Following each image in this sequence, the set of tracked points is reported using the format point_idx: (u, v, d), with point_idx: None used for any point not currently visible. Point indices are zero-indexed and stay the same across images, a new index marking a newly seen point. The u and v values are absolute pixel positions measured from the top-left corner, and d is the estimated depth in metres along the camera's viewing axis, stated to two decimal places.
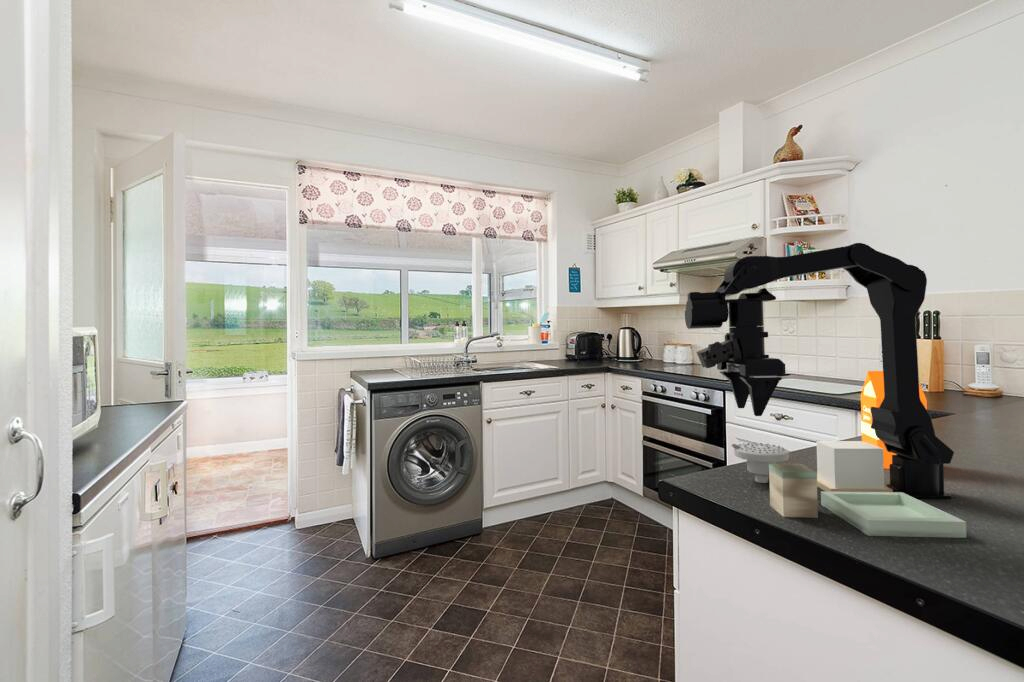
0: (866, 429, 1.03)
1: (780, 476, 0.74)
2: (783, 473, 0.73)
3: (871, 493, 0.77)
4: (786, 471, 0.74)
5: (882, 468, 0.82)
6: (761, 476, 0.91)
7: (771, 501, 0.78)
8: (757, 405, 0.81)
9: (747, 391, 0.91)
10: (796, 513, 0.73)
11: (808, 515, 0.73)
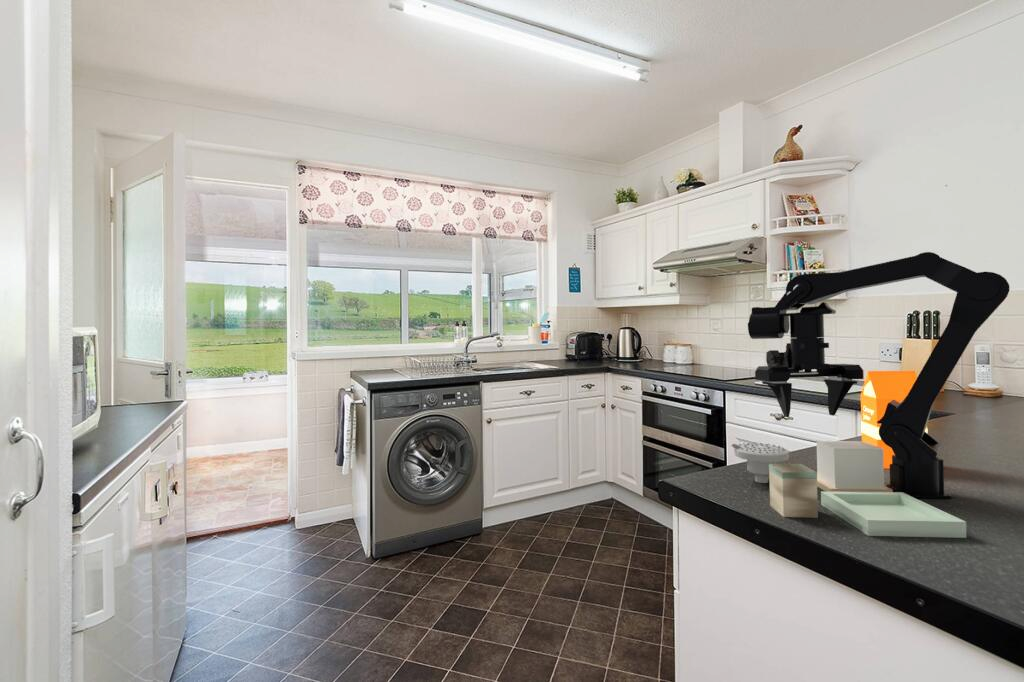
0: (866, 429, 1.03)
1: (780, 476, 0.74)
2: (783, 473, 0.73)
3: (871, 493, 0.77)
4: (786, 471, 0.74)
5: (882, 468, 0.82)
6: (761, 476, 0.91)
7: (771, 501, 0.78)
8: (782, 406, 0.94)
9: (836, 399, 0.93)
10: (796, 513, 0.73)
11: (808, 515, 0.73)
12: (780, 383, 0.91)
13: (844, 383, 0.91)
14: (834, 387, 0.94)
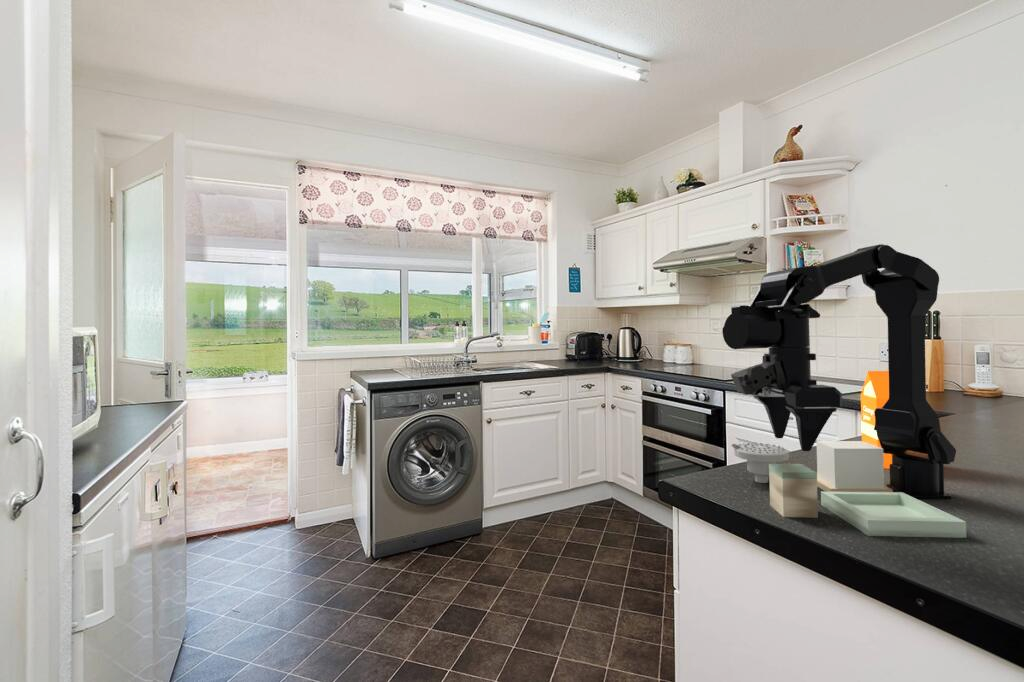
0: (866, 429, 1.03)
1: (780, 476, 0.74)
2: (783, 473, 0.73)
3: (871, 493, 0.77)
4: (786, 471, 0.74)
5: (882, 468, 0.82)
6: (761, 476, 0.91)
7: (771, 501, 0.78)
8: (805, 439, 0.71)
9: (786, 419, 0.80)
10: (796, 513, 0.73)
11: (808, 515, 0.73)
12: (832, 407, 0.68)
13: None
14: (780, 405, 0.81)
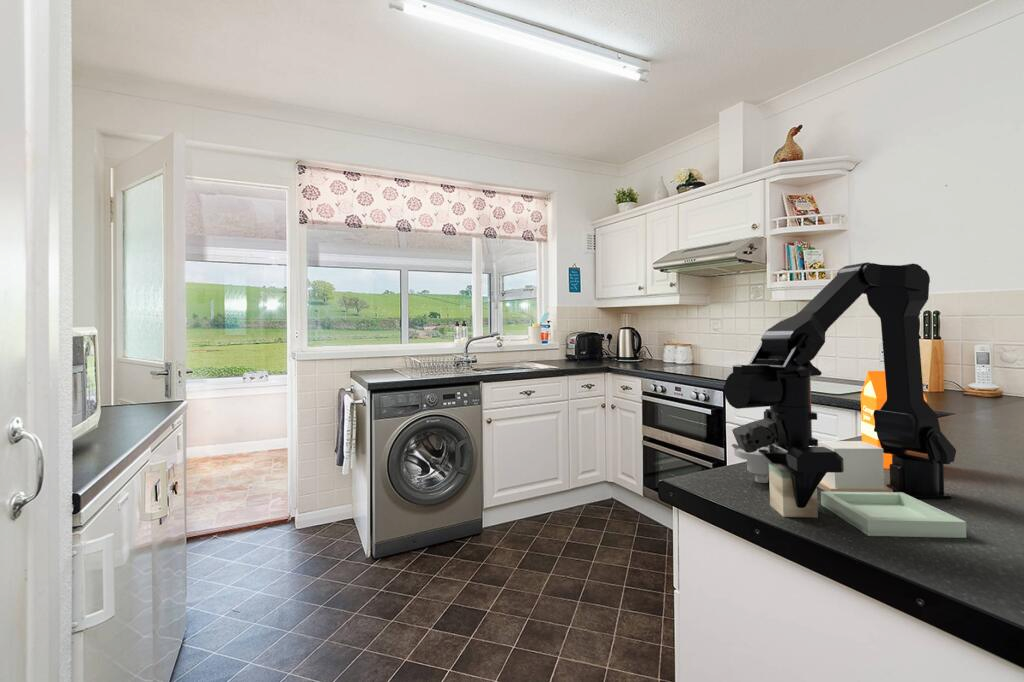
0: (866, 429, 1.03)
1: (780, 476, 0.74)
2: (783, 473, 0.73)
3: (871, 493, 0.77)
4: (786, 471, 0.74)
5: (882, 468, 0.82)
6: (761, 476, 0.91)
7: (771, 501, 0.78)
8: (800, 496, 0.72)
9: None
10: (796, 513, 0.73)
11: (808, 515, 0.73)
12: None
13: None
14: (786, 462, 0.79)
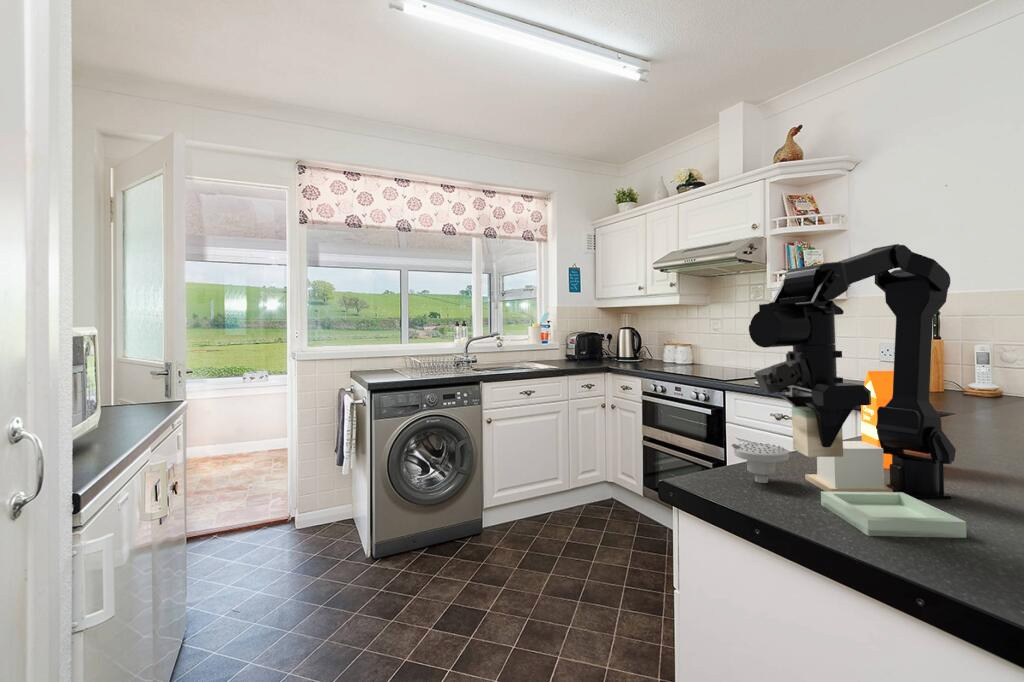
0: (866, 429, 1.03)
1: (804, 416, 0.73)
2: (807, 412, 0.72)
3: (871, 493, 0.77)
4: (810, 410, 0.73)
5: (882, 468, 0.82)
6: (761, 476, 0.91)
7: (794, 444, 0.77)
8: (826, 435, 0.71)
9: None
10: (821, 452, 0.72)
11: (833, 454, 0.72)
12: None
13: None
14: None
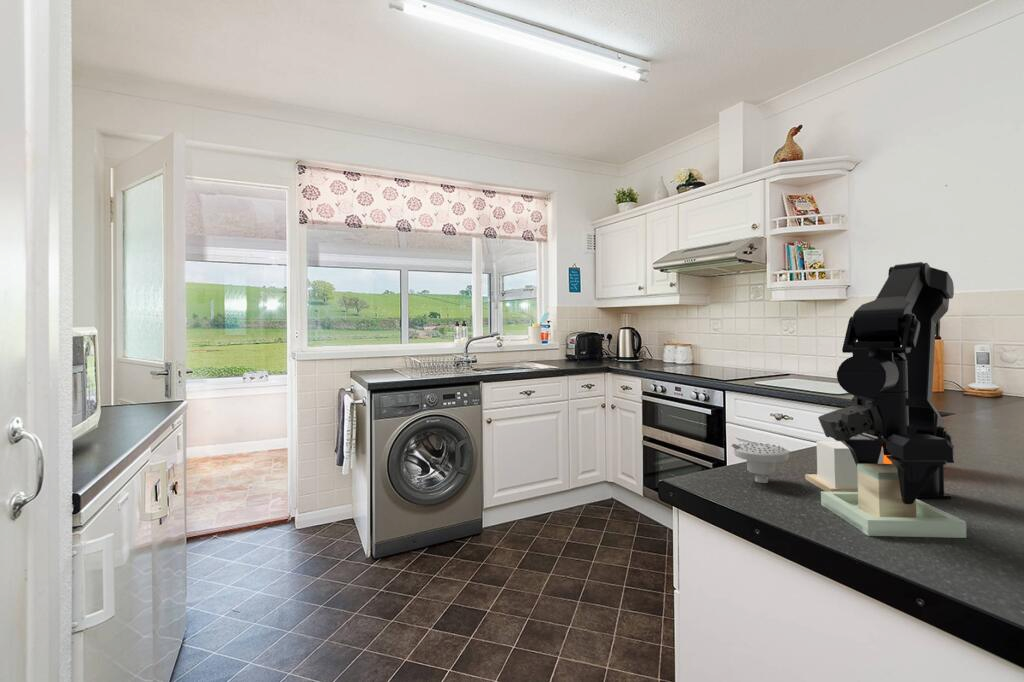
0: None
1: (874, 477, 0.70)
2: (879, 473, 0.69)
3: None
4: (881, 471, 0.69)
5: None
6: (761, 476, 0.91)
7: (860, 503, 0.74)
8: (908, 491, 0.66)
9: None
10: (893, 516, 0.69)
11: None
12: None
13: None
14: (867, 448, 0.76)
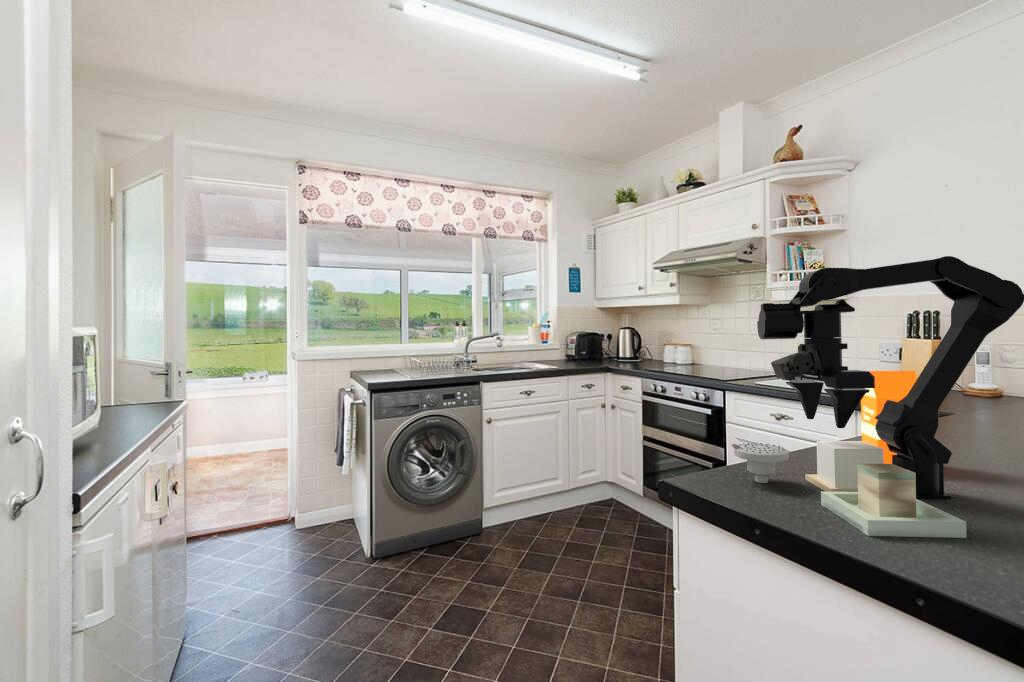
0: (866, 429, 1.03)
1: (874, 477, 0.70)
2: (879, 473, 0.69)
3: None
4: (881, 471, 0.69)
5: None
6: (761, 476, 0.91)
7: (860, 503, 0.74)
8: (841, 417, 0.81)
9: (816, 402, 0.91)
10: (893, 516, 0.69)
11: None
12: (865, 389, 0.79)
13: None
14: (810, 389, 0.91)
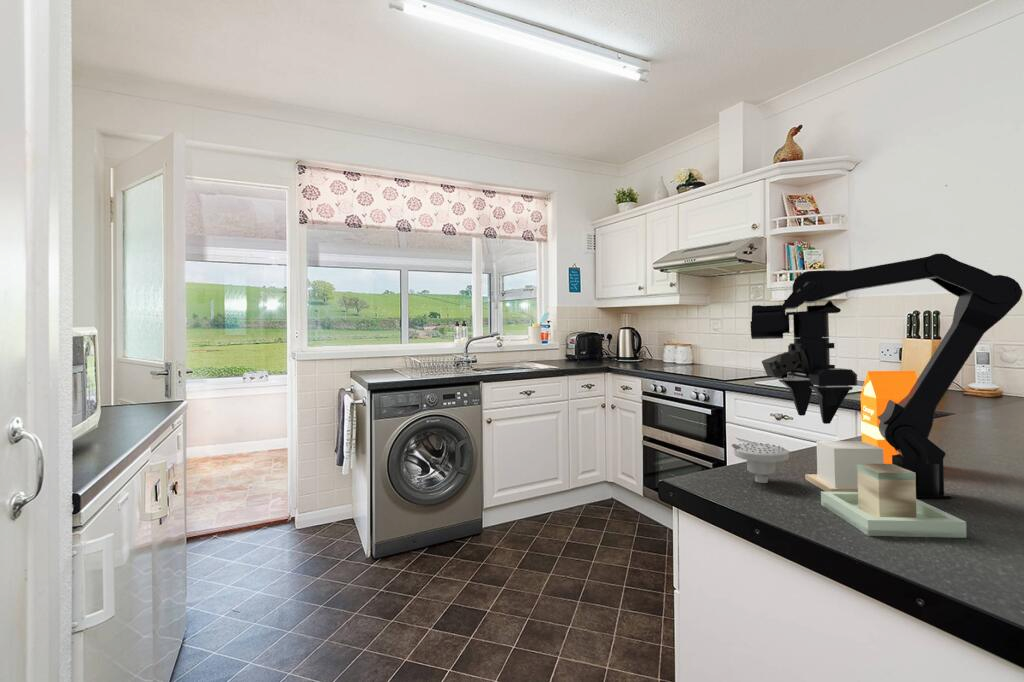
0: (866, 429, 1.03)
1: (874, 477, 0.70)
2: (879, 473, 0.69)
3: None
4: (881, 471, 0.69)
5: None
6: (761, 476, 0.91)
7: (860, 503, 0.74)
8: (826, 413, 0.85)
9: (807, 399, 0.95)
10: (893, 516, 0.69)
11: None
12: (848, 386, 0.83)
13: None
14: (802, 387, 0.95)
